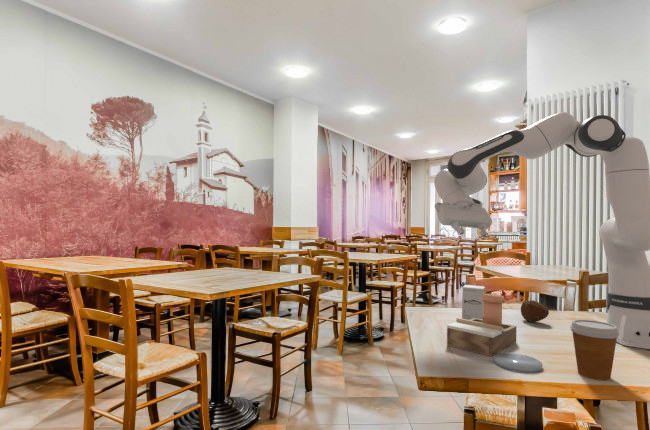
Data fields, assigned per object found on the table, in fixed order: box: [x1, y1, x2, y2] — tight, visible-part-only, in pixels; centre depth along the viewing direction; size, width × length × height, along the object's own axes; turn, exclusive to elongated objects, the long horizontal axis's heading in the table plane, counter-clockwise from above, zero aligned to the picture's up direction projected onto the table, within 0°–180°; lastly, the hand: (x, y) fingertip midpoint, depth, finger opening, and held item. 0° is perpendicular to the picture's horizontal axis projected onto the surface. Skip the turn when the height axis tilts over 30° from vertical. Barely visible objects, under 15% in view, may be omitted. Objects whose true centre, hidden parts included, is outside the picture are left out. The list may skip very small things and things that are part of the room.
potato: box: [520, 299, 550, 323], centre depth 140 cm, size 7×10×8 cm
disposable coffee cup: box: [569, 319, 619, 381], centre depth 90 cm, size 10×10×12 cm
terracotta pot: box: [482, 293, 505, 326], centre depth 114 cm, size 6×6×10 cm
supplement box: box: [461, 284, 486, 320], centre depth 141 cm, size 7×7×13 cm
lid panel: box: [446, 317, 502, 338], centre depth 108 cm, size 13×7×2 cm, turn 45°
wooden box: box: [446, 318, 517, 358], centre depth 112 cm, size 13×18×5 cm
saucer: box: [493, 352, 543, 374], centre depth 96 cm, size 11×11×1 cm
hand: (473, 234), depth 129 cm, fingers open, 8 cm apart
